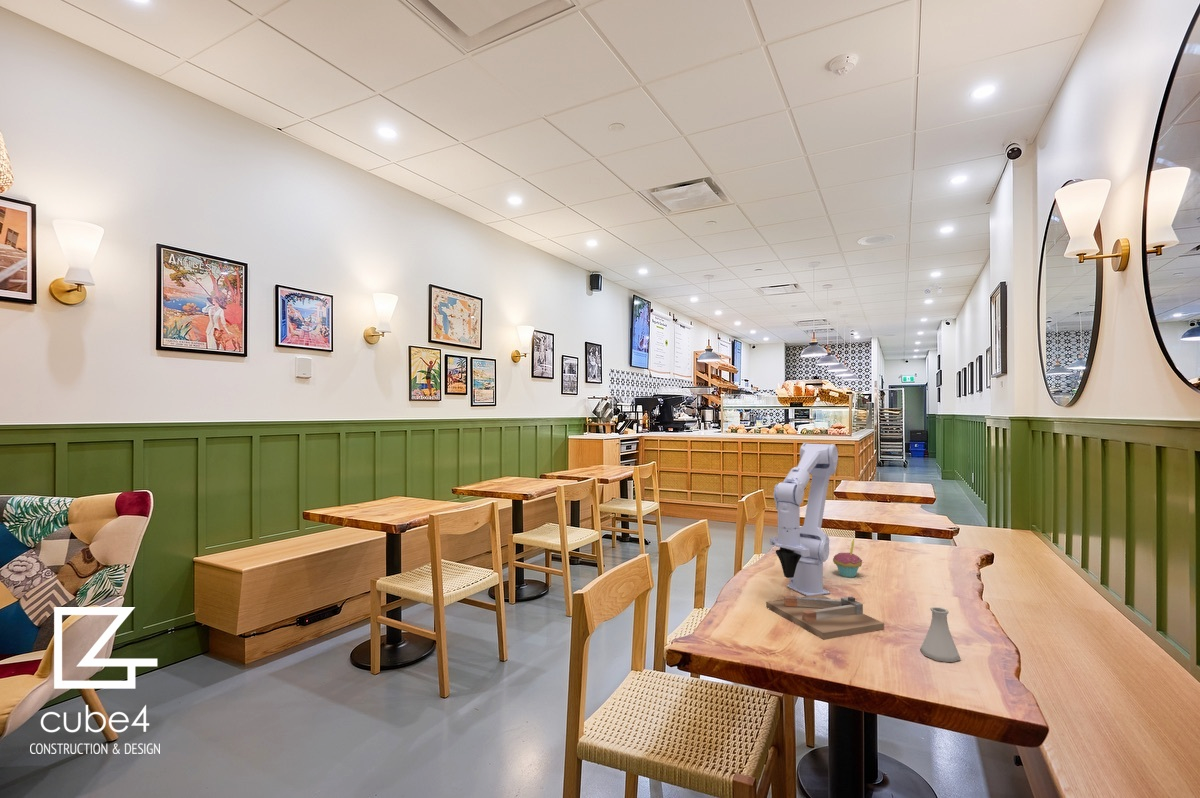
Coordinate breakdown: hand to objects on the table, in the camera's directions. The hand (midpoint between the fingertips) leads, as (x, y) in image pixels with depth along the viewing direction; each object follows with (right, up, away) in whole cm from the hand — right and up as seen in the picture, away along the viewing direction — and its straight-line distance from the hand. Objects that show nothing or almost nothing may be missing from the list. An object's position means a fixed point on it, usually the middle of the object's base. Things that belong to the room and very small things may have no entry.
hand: (789, 576), depth 151 cm
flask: (+22, -7, -31) cm, 39 cm away
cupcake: (+28, -8, +27) cm, 40 cm away
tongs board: (+5, -8, -9) cm, 13 cm away
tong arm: (+4, -6, -6) cm, 9 cm away
